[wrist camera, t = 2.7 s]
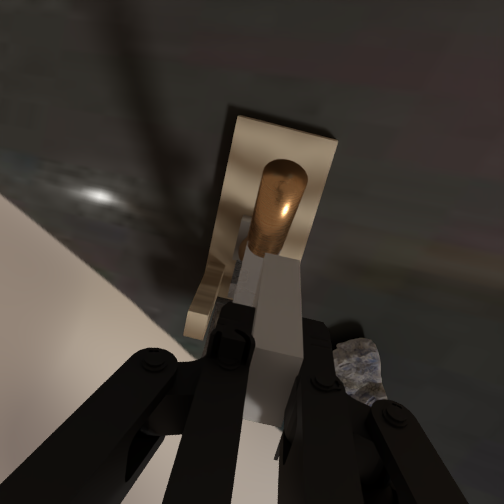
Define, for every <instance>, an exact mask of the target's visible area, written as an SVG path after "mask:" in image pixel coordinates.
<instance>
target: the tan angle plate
mask: <svg viewBox="0 0 504 504" xmlns="http://www.w3.org/2000/svg"><path fill="white" fill-rule="evenodd" d="M337 144H338V141H337V140H336V139H332V138H328V137H324V136H320V135H317V134H313V133H309V132H305V131H301V130H297V129H293V128H289V127H285V126H281V125H277V124H274V123H270V122H266V121H262V120H258V119H254V118H250V117H246V116H242V115H238V117H237V121H236V126H235V131H234V136H233V140H232V145H231V150H230V155H229V160H228V164H227V169H226V174H225V179H224V183H223V188H222V193H221V198H220V202H219V207H218V212H217V217H216V221H215V226H214V231H213V236H212V241H211V245H210V250H209V255H208V260H207V264H206V269H205V273H204V276H203V278H202V280H201V283H200V285H199V287H198V289H197V292H196V294H195V296H194V299H193V301H192V303H191V306H190V308H189V310H188V315H187V320H186V325H185V330H184V335H183V336H187V337H191V338H195V339H199V340H203V338H204V335H205V332H206V329H207V326H208V323H209V320H210V317H211V314H212V311H213V308H214V305H215V302H216V299H217V296H218V297H222V298H226V299H230V300H233V298H229V297H228V292H229V288H230V283H231V279H232V275H233V271H234V268H235V264H236V260H241V261H243V258H244V254H245V250H246V246H247V236H248V232H249V227H250V223H251V219H252V215H253V211H254V207H255V202H256V198H257V194H258V190H259V186H260V182H261V177H262V173H263V170H264V167H265V166H266V165H267V164H268V163H269V162H271V161H273V160H276V159H287V160H291V161H294V162H296V163H298V164H299V165H300V166H302V167H303V169H304V170H305V171H306V173H307V176H308V183H307V186H306V188H305V191H304V194H303V196H302V199H301V201H300V204H299V206H298V209H297V212H296V214H295V217H294V219H293V222H292V224H291V227H290V230H289V232H288V235H287V237H286V240H285V242H284V245H283V248H282V250H281V252H280V254H279V256H283V257H287V258H292V259H296V260H300V262H301V258H302V255H303V252H304V249H305V246H306V243H307V239H308V236H309V233H310V230H311V227H312V223H313V220H314V217H315V214H316V211H317V208H318V204H319V201H320V198H321V195H322V192H323V188H324V185H325V182H326V179H327V176H328V172H329V169H330V166H331V163H332V160H333V157H334V153H335V150H336V147H337Z"/></svg>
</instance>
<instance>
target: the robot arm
mask: <svg viewBox="0 0 504 504" xmlns="http://www.w3.org/2000/svg"><path fill="white" fill-rule="evenodd" d="M242 419H245V420H249V421H254V422H258V423H263V424H267V425H272V426H276V427H280V428H281V425H282V422H283V419H284V430H283V433H282V436H281V439H280V442H279V445H278V448H277V451H276V454H275V457H274V460H278V457H279V478H278V504H469V503H468V502H467V500H466V499H465V497H464V495H463V494H462V492H461V490H460V489H459V487H458V486H457V484H456V482H455V481H454V479H453V478H452V476H451V474H450V473H449V471H448V469H447V468H446V466H445V465H444V463H443V461H442V460H441V458H440V456H439V455H438V453H437V452H436V450H435V448H434V447H433V445H432V444H431V442H430V440H429V439H428V437H427V435H426V434H425V432H424V431H423V429H422V427H421V426H420V424H419V422H418V421H417V419H416V418H415V417H414V415H413V414H412V413H411V412H410V411H409V410H408V409H407V408H405V407H404V406H403V405H401V404H399V403H397V402H395V401H392V400H387V399H381V400H377V401H375V402H374V403H373V404H372V406H371V407H370V406H368V405H366V404H364V403H362V402H360V401H358V400H356V399H354V398H352V397H351V396H350V395H348V394H347V393H346V390H345V387H344V384H343V382H342V381H341V380H340V379H339V378H338V377H337V376H336V372H335V365H334V358H333V351H332V344H331V337H330V331H329V330H328V329H327V327H326V326H325V324H324V323H323V322H320V321H316V320H311V319H307V318H303V317H302V307H301V282H300V260H296V259H292V258H287V257H283V256H279V255H274V254H270V253H266V252H265V256H264V260H263V264H262V268H261V272H260V276H259V280H258V284H257V288H256V292H255V296H254V300H253V304H252V307H251V306H246V305H242V304H238V303H233V302H228V303H227V304H225V305H224V306H223V307H222V308H221V311H220V314H219V318H218V321H217V325H216V328H215V329H213V331H212V332H211V334H210V337H209V342H208V347H207V352H206V355H205V356H204V357H202V358H200V359H198V360H195V361H190V362H177V359H176V357H175V356H174V355H173V354H172V353H170V352H169V351H167V350H164V349H160V348H146V349H142V350H139V351H138V352H136V353H135V354H133V355H132V356H131V357H130V358H129V359H128V360H127V361H126V362H125V363H124V364H123V365H122V366H121V367H120V368H119V369H118V370H117V371H116V372H115V373H114V374H113V375H112V376H111V377H110V378H109V379H108V380H107V381H106V382H104V383H103V384H102V385H101V386H100V387H99V388H98V389H97V390H96V391H95V392H94V393H93V394H92V395H91V396H90V397H89V398H88V399H87V400H86V401H85V402H84V403H83V404H82V405H81V406H80V407H79V408H78V409H77V410H76V411H75V412H74V413H73V414H72V415H71V416H70V417H69V418H68V419H67V420H66V421H65V422H64V423H63V424H62V425H61V426H59V427H58V429H56V430H55V432H53V433H52V434H51V435H50V436H49V437H48V438H47V439H46V440H45V441H44V442H43V443H42V444H41V445H40V446H39V447H38V448H37V449H36V450H35V451H34V452H33V453H32V454H31V455H30V456H29V457H28V458H27V459H26V460H25V461H24V462H23V463H22V464H21V465H20V466H19V467H18V468H17V469H16V470H15V471H13V472H12V474H10V475H9V476H8V477H7V478H6V479H5V480H4V481H3V482H2V483H1V484H0V504H121V502H122V500H123V499H124V497H125V496H126V494H127V493H128V492H129V490H130V489H131V487H132V486H133V484H134V483H135V481H136V480H137V478H138V477H139V476H140V474H141V473H142V471H143V470H144V468H145V467H146V465H147V464H148V462H149V461H150V459H151V458H152V457H153V455H154V453H155V452H156V451H157V449H158V448H159V446H160V445H161V443H162V442H163V440H164V438H165V436H166V435H180V434H182V438H181V441H180V444H179V448H178V451H177V455H176V458H175V461H174V465H173V468H172V471H171V475H170V478H169V481H168V485H167V488H166V491H165V495H164V498H163V502H162V504H231V498H232V491H233V484H234V477H235V469H236V462H237V455H238V448H239V441H240V433H241V426H242Z"/></svg>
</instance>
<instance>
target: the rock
mask: <svg viewBox="0 0 504 504" xmlns="http://www.w3.org/2000/svg"><path fill="white" fill-rule="evenodd" d="M336 347H337V349H336V350H334V351H333V358H334V365H335V372H336V376H337V377H338V378H339V379H340V380H341V381H342V382H343V384H344V387H345V390H346V393H347V394H348V395H350V396H351V397H352V398H354V399H356V400H358V401H360V402H362V403H364V404H366V405H368V406H370V407H371V406H372V404H373V403H374V402H375V401H377V400H381V399H387V396H386V393H385V390H384V387H383V385H382V383H381V381H382V378H381V376H380V373H381V363H380V357H379V353H378V350H377V347H376V345H375V343H373V342H372V340H370V339H366V338H358V339H351V340H348V341H346V342H343V343H338V344H337V345H336Z"/></svg>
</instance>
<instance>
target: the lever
mask: <svg viewBox="0 0 504 504" xmlns="http://www.w3.org/2000/svg"><path fill="white" fill-rule="evenodd" d="M307 183H308V176H307V173H306V171H305V170H304V169H303V167H302V166H300V165H299V164H298V163H296V162H294V161H291V160H287V159H276V160H273V161H271V162H269V163H268V164H267V165H266V166H265V167H264V170H263V173H262V177H261V182H260V186H259V190H258V194H257V198H256V202H255V207H254V211H253V215H252V219H251V223H250V227H249V232H248V236H247V246H246V250H245V254H244V258H243V261H241V260H236V264H235V268H234V271H233V275H232V279H231V283H230V288H229V292H228V297H229V298H233V303H238V304H242V305H246V306H251V307H252V304H253V300H254V296H255V292H256V288H257V284H258V280H259V276H260V272H261V268H262V264H263V260H264V256H265V252H266V253H270V254H274V255H279V254H280V252H281V250H282V248H283V245H284V242H285V240H286V237H287V235H288V232H289V230H290V227H291V224H292V222H293V219H294V217H295V214H296V212H297V209H298V206H299V204H300V201H301V199H302V196H303V194H304V191H305V188H306V186H307ZM224 305H225V303H221V302H217V304H216V307H215V311H214V315H213V318H212V322H211V326H210V329H209V333H208V336H207V340H206V344H205V347H204V351H203V355H202V357H204V356H205V355H206V352H207V347H208V342H209V337H210V334H211V332H212V331H213V329H215V328H216V325H217V321H218V318H219V314H220V311H221V308H222V307H223V306H224Z"/></svg>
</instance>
